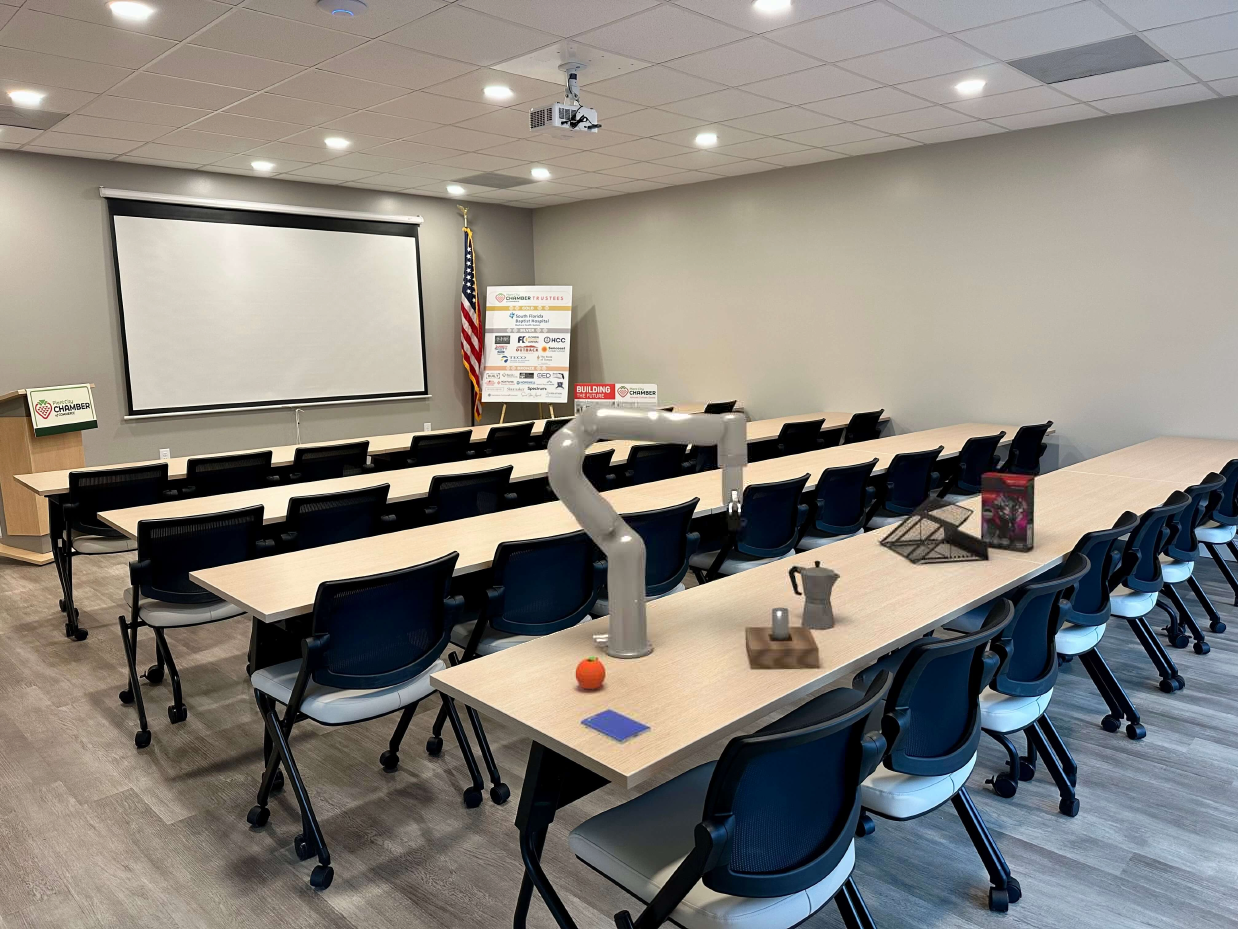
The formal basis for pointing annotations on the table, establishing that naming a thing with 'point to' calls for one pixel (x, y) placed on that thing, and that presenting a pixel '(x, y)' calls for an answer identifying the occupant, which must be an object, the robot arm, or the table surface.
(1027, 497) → the graphics card box
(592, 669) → the clementine
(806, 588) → the coffeepot
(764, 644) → the socket block
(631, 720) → the hard drive
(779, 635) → the peg
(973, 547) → the portable electronic device stand
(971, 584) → the table surface
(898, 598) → the table surface
